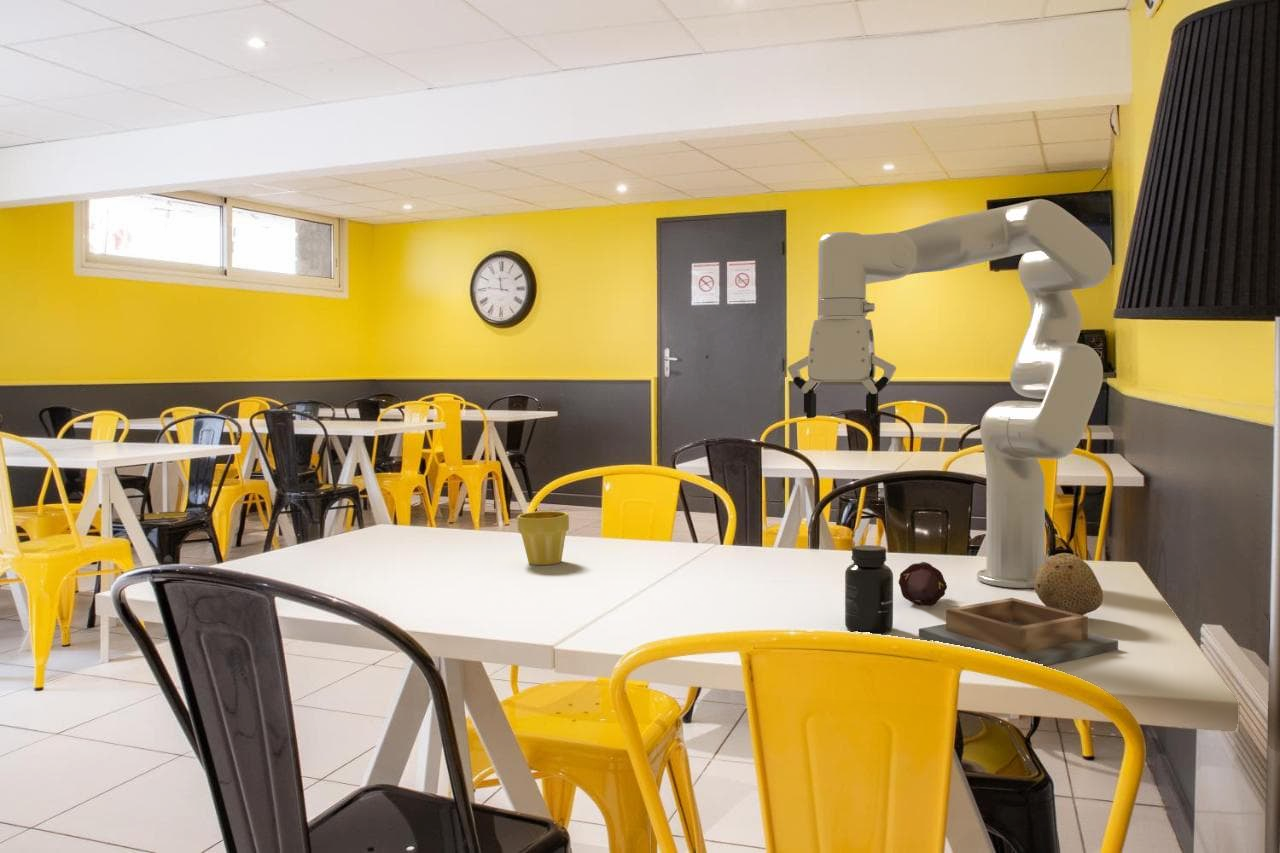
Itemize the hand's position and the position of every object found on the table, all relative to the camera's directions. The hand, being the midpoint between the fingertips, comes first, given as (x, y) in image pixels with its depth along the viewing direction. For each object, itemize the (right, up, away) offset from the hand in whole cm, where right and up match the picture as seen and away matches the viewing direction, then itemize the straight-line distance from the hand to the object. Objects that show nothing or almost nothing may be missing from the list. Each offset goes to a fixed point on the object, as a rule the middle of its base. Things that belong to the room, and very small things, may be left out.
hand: (840, 418), depth 157 cm
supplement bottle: (+1, -31, -14) cm, 34 cm away
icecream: (+13, -30, 0) cm, 33 cm away
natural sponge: (+31, -30, -12) cm, 45 cm away
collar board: (+19, -31, -23) cm, 43 cm away
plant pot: (-52, -29, +41) cm, 72 cm away
